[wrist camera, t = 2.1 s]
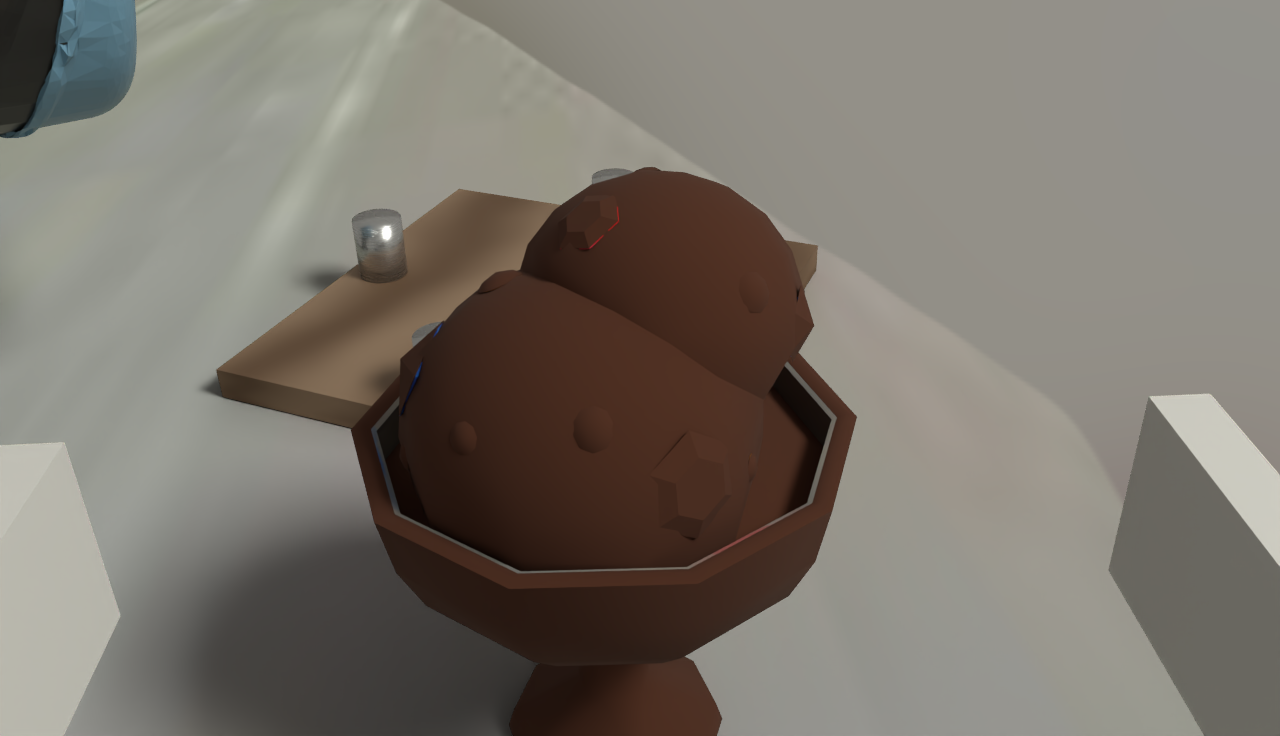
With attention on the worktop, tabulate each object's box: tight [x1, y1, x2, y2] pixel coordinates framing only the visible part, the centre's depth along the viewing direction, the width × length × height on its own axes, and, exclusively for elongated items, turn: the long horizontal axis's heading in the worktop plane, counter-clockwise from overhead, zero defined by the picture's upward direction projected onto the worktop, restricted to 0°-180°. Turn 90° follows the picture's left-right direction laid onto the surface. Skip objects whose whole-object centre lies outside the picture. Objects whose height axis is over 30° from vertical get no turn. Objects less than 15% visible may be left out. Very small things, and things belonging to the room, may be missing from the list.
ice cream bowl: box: [351, 167, 857, 736], centre depth 27 cm, size 11×11×15 cm
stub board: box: [217, 169, 818, 428], centre depth 48 cm, size 18×18×4 cm
